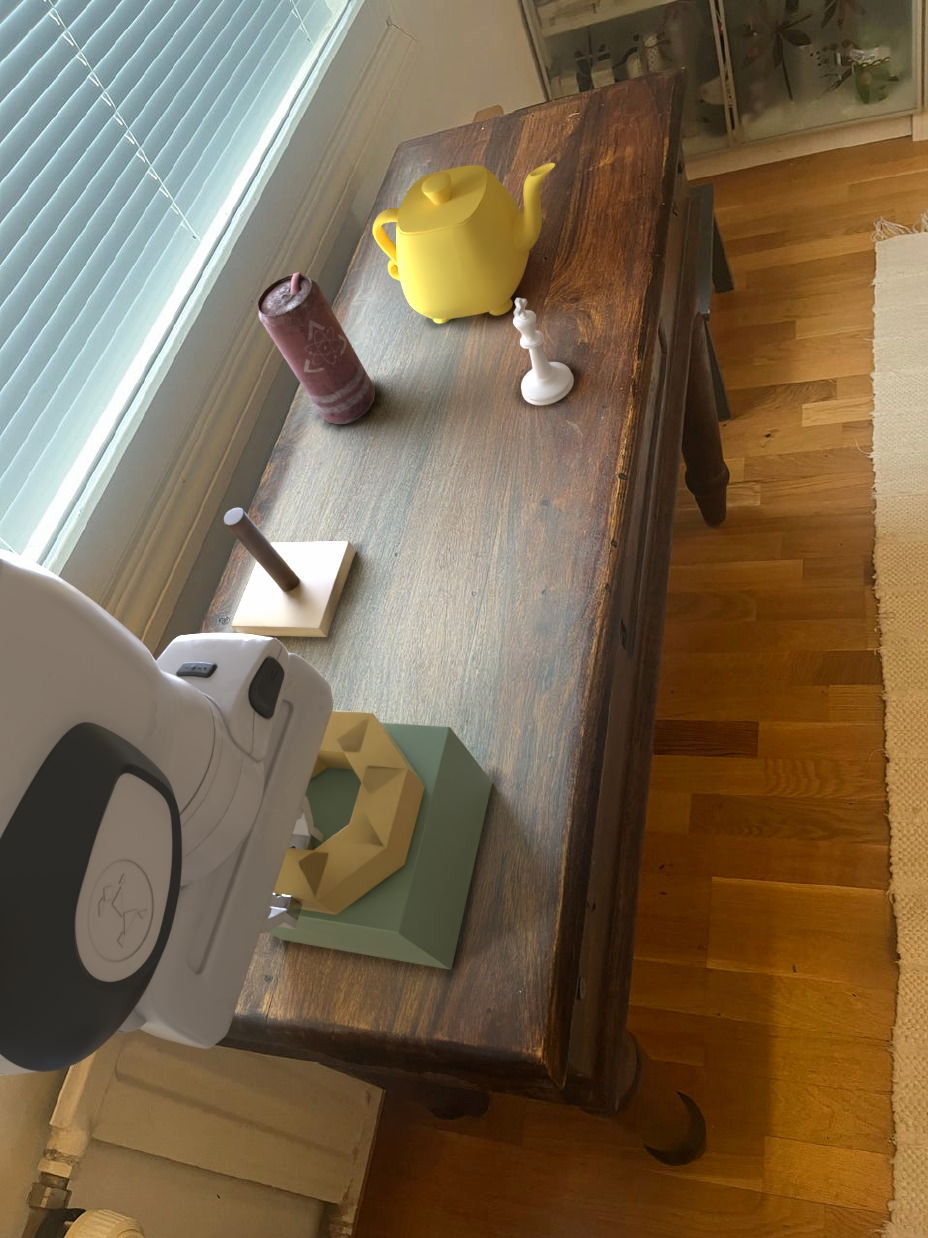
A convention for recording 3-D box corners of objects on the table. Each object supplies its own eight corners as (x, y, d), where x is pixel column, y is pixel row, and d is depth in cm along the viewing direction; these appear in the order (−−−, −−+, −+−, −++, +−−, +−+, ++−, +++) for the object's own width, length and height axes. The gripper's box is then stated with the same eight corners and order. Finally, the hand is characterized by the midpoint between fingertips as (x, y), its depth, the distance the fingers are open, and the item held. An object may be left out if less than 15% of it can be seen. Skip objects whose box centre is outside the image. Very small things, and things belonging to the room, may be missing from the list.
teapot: (417, 259, 104) (371, 154, 94) (592, 229, 96) (562, 112, 86) (389, 346, 97) (336, 243, 87) (575, 321, 90) (541, 204, 80)
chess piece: (582, 369, 86) (555, 280, 78) (560, 408, 84) (531, 322, 76) (535, 364, 88) (505, 278, 80) (513, 402, 86) (480, 318, 78)
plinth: (451, 970, 60) (398, 933, 53) (281, 940, 65) (212, 902, 58) (492, 781, 66) (450, 726, 59) (334, 767, 71) (277, 715, 64)
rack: (327, 637, 78) (262, 562, 70) (239, 635, 82) (167, 563, 73) (356, 550, 83) (299, 469, 74) (271, 552, 86) (207, 475, 78)
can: (383, 376, 95) (322, 263, 84) (369, 423, 91) (304, 311, 80) (331, 384, 97) (265, 274, 86) (315, 429, 94) (245, 321, 83)
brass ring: (389, 923, 53) (369, 909, 51) (220, 896, 57) (195, 882, 55) (438, 735, 59) (422, 715, 56) (281, 724, 63) (260, 705, 61)
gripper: (131, 1033, 38) (290, 1082, 49) (287, 611, 48) (391, 729, 59) (17, 1005, 40) (193, 1058, 51) (189, 609, 50) (306, 723, 61)
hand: (300, 880), depth 55 cm, fingers closed on brass ring, 3 cm apart
